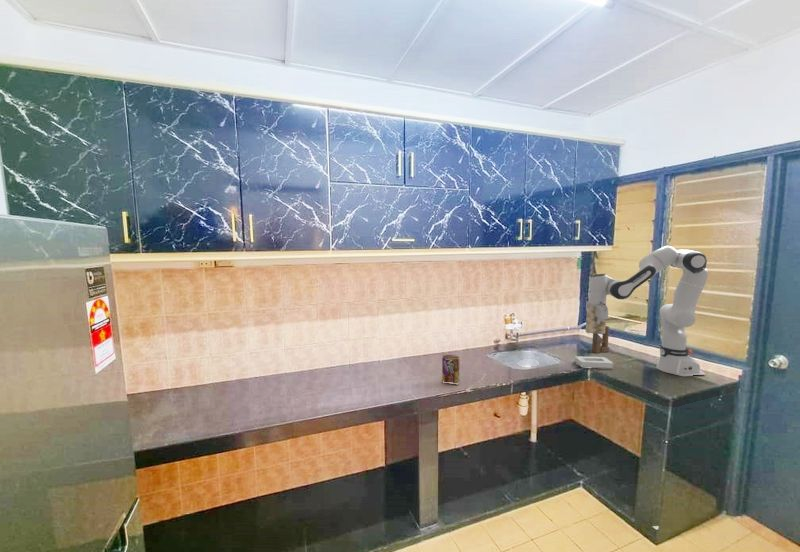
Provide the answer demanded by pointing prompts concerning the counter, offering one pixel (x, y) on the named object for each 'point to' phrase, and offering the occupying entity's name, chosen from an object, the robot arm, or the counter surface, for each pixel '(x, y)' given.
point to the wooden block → (598, 340)
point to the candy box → (450, 368)
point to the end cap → (594, 362)
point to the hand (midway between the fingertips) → (595, 323)
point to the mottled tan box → (594, 322)
